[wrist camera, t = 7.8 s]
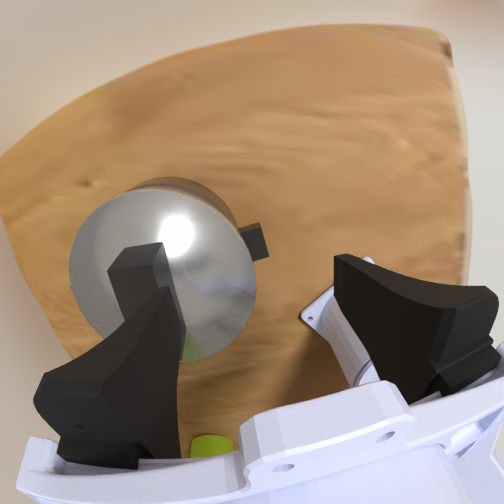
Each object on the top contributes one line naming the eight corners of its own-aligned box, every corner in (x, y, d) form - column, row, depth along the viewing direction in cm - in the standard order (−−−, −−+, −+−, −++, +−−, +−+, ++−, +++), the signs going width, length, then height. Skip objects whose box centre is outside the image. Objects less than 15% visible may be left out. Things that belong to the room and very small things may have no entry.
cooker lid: (241, 171, 16) (247, 182, 12) (263, 343, 20) (271, 384, 17) (54, 209, 15) (19, 229, 11) (110, 358, 20) (96, 394, 16)
